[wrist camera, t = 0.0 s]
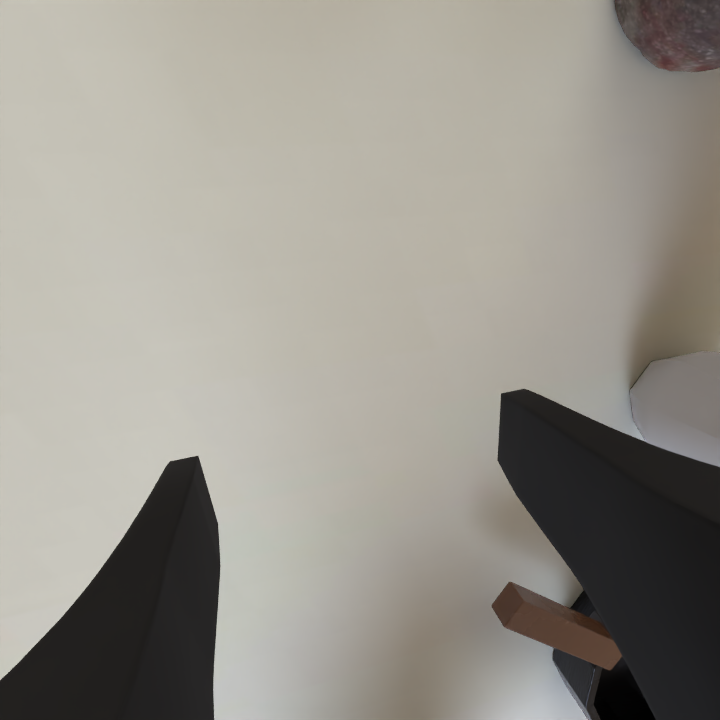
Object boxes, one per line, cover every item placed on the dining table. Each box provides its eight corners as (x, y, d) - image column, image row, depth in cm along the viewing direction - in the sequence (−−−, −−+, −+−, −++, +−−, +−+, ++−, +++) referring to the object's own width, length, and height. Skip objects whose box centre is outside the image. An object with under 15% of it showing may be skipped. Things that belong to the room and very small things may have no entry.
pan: (730, 592, 33) (789, 640, 29) (632, 711, 34) (678, 770, 31) (533, 485, 27) (578, 528, 23) (426, 632, 28) (452, 695, 25)
